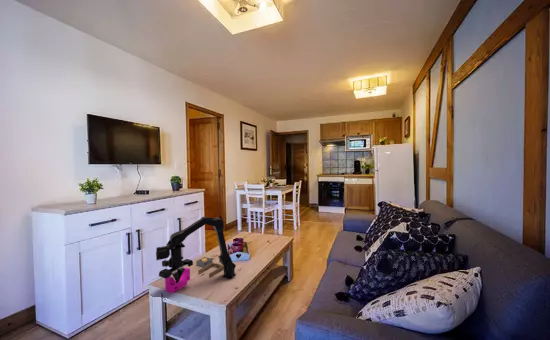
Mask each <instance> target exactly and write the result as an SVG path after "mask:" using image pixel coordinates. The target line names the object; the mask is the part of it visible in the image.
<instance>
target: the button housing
mask: <svg viewBox="0 0 550 340" xmlns="http://www.w3.org/2000/svg"><path fill="white" fill-rule="evenodd" d="M203 258H207V261H205V262H203V261H202V259H203ZM195 262H196V266H198V267H201V268H204V267H205V266H207V265H209V264H211V263H214V262H213V258H211V257H207V256H203V257H201V258H200V259H198V260H196V261H195Z"/></svg>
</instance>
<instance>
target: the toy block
mask: <svg viewBox="0 0 550 340" xmlns="http://www.w3.org/2000/svg"><path fill="white" fill-rule="evenodd" d="M184 269H185V270H184V272H183V274H182V276H181V278H180V280H179V282H178V283H176V281H175V279H174V277H173V276H170V277H168V278H164V286H165V287H164V288H165V290H164V291H165V292H169V293H172V294H174V293H175V291H176V290H177V291H179V290H180V289H182V288H183V287H185V286H187V285H188V282H189V281H191V272H190V271H191V268H189V267H184ZM178 289H179V290H178ZM177 291H176V292H177Z"/></svg>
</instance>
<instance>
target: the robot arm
mask: <svg viewBox="0 0 550 340" xmlns="http://www.w3.org/2000/svg"><path fill="white" fill-rule="evenodd" d="M224 224H225V223H224V221H223V219H221V218H219V217H218V216H217V217H207V216H202V217H201V218H200V219H197V220H196V221H194V222H193V223H192V224H189V226H187V227H186V228H184V229H181V230H178V231H175V232H173V233H171V235H170V237H169V240H168V242H167V243H166V245H165V246H158V247H156V248H155V249H156V250H155V258H156V261H160V260H161V266H162V267H163V268H164V267H165V268H164V269H161V270H160V271H159V272H158V277H160V278H163V279H165V278H168V277H173V278H174V280H175V281H176V283H178V282H179V280H180V278H181V276H182V274H183V272H184V270H185V269H184V268H185V267H186V266H188V268H189V267H191V266H193V265H194V261H193V260H192V259H188V258H185V259H184V256H183V252H182V250H183V249H182V248H186V246H185V245H186V244H185V243H183V242H184V241H185V240H186V238H187V237H188V236H190V235H191V234H193V233H195V232H196V231H197V230H199V229H200V228H202V227H203V226H205V225H206V226H207V225H208V226H211V227H213V230H214V231H215V233H216V238H217V243H218V246H219V251H220V255H218V256H217V257H218V259H219V260H218V261H219V264H221V265H224V270H223V276H222V278H223V279H228V280H231V279H232V278H234V277H235V276H237V274H236V272H235V271H236V270H235V269H236V266H237V265H236V264H235V263H234V262H233V259H232V258H231V255H230V253H229V252H228V248H227V243H226V239H225V234H224V228H225V225H224ZM168 258H169V259H168ZM167 259H168V260H167ZM162 260H163V261H162ZM167 267H168V268H169V269H168V268H167Z"/></svg>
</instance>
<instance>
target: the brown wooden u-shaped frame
mask: <svg viewBox="0 0 550 340" xmlns="http://www.w3.org/2000/svg"><path fill="white" fill-rule="evenodd" d="M213 267H214V268H216V269H214V270H213V271H211V272H209V274H208V278H210V279H211V278H212V277H214V276H216V275H217V274H219V273H220V272H222V271H224V265H222V264H221V263H216V262H213V263H211V264H209V265H207V266H205V267H201V268H200V269H198V271H197V272H198V273H197V274H198V275H201V274H202V273H205V272H206V271H208V270H210V269H211V268H213Z"/></svg>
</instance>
